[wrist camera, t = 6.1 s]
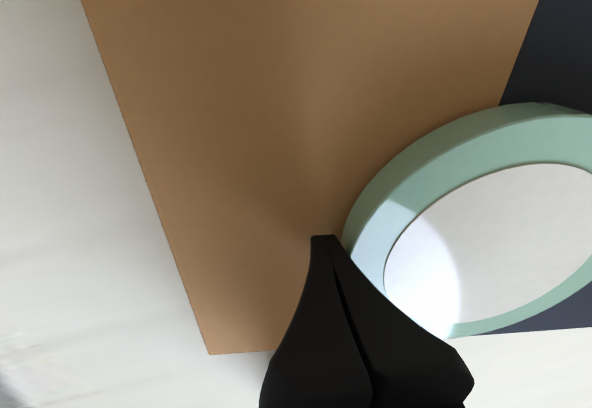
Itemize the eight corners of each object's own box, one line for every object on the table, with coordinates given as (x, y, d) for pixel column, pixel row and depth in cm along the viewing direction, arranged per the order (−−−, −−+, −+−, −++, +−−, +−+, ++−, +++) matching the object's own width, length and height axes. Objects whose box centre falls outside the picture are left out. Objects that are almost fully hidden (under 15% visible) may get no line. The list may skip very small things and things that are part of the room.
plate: (528, 303, 18) (554, 332, 16) (330, 316, 18) (336, 348, 16) (679, 93, 11) (755, 108, 9) (350, 104, 10) (365, 121, 9)
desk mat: (641, 319, 21) (645, 323, 21) (209, 351, 19) (209, 355, 19) (1034, -23, 10) (1055, -24, 9) (81, -12, 8) (75, -13, 8)
